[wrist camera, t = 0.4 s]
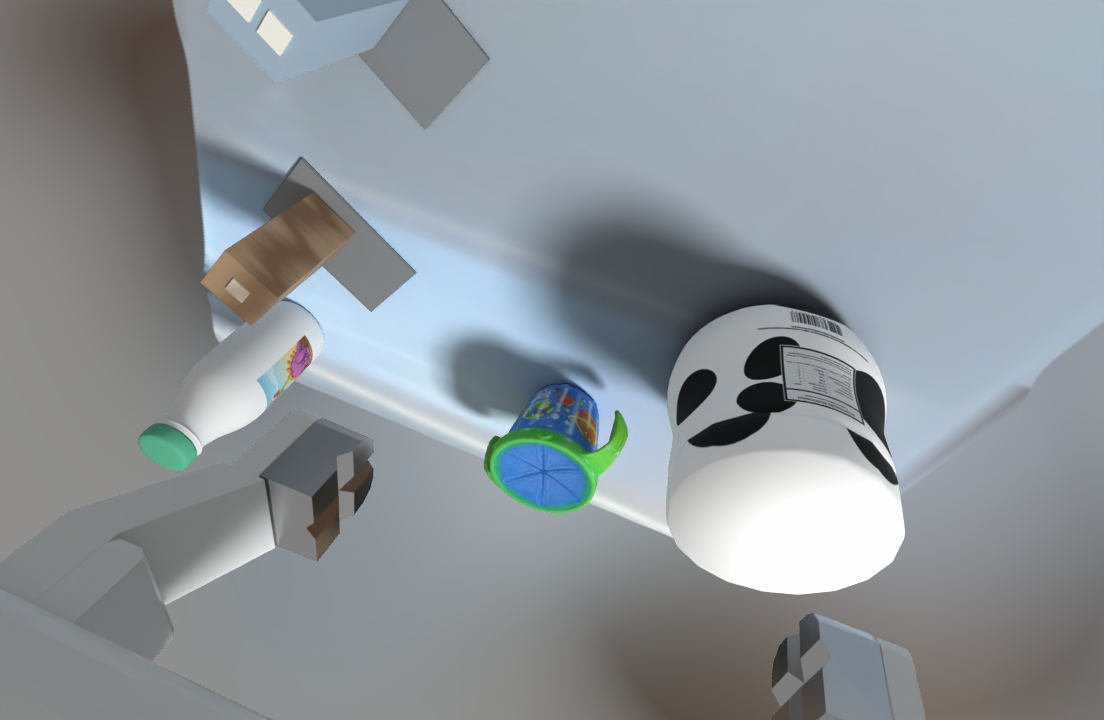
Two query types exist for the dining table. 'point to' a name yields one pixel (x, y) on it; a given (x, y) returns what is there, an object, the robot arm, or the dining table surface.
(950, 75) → the dining table surface
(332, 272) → the grey rectangular plate
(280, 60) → the rectangular block
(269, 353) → the milk bottle
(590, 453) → the snack cup
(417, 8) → the grey flat block
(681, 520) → the milk container
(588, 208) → the dining table surface
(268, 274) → the wooden box
